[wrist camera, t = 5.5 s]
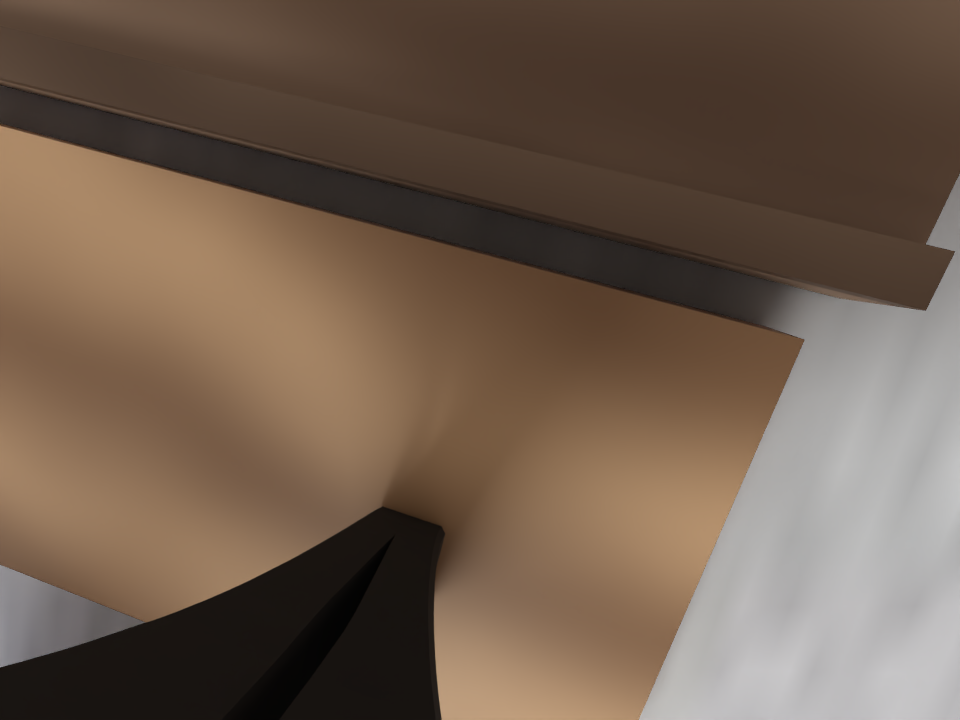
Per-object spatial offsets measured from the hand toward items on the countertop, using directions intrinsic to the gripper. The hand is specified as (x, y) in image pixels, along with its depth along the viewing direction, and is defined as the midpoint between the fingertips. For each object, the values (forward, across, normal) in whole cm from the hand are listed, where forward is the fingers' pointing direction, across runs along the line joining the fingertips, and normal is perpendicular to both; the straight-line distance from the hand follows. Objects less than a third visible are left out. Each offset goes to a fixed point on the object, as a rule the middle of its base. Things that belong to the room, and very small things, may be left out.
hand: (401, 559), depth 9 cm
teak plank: (+2, +8, -1) cm, 8 cm away
